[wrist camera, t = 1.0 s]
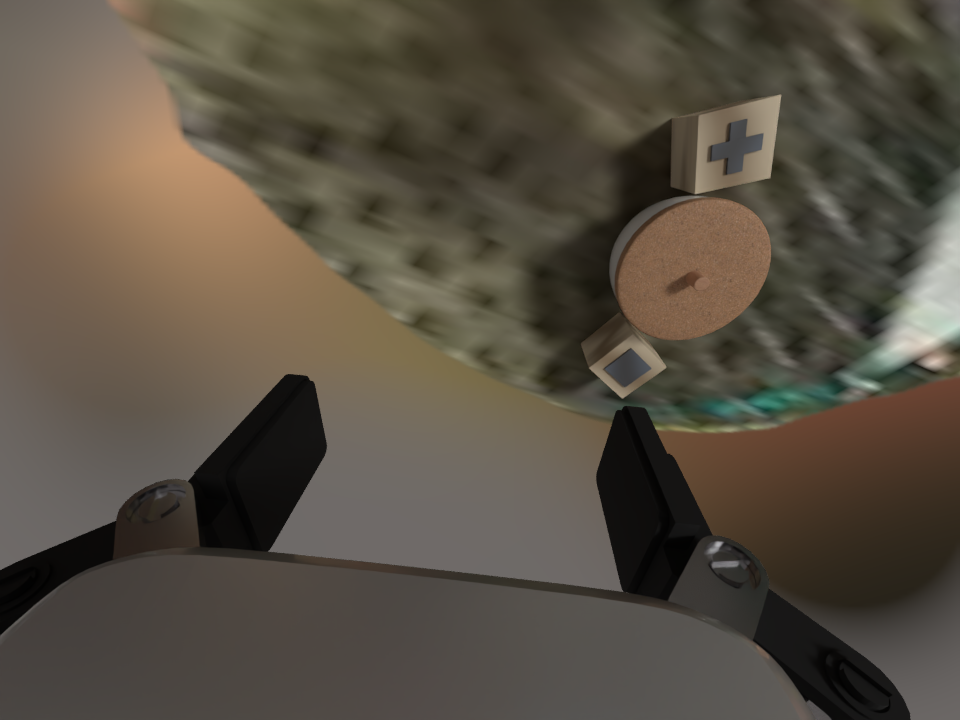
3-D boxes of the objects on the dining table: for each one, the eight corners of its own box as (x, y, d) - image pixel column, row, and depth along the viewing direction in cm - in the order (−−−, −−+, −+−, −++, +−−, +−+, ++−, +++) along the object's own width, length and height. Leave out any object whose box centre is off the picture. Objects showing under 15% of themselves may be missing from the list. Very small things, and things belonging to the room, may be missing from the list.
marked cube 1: (619, 311, 38) (633, 334, 34) (649, 342, 40) (667, 368, 35) (580, 343, 40) (589, 369, 36) (610, 371, 42) (622, 399, 37)
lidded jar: (682, 316, 38) (728, 365, 30) (579, 289, 37) (599, 331, 29) (745, 205, 32) (824, 227, 24) (627, 170, 32) (667, 182, 24)
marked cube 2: (740, 100, 29) (783, 94, 24) (734, 172, 31) (771, 178, 27) (671, 118, 30) (700, 115, 25) (670, 186, 32) (696, 194, 28)
